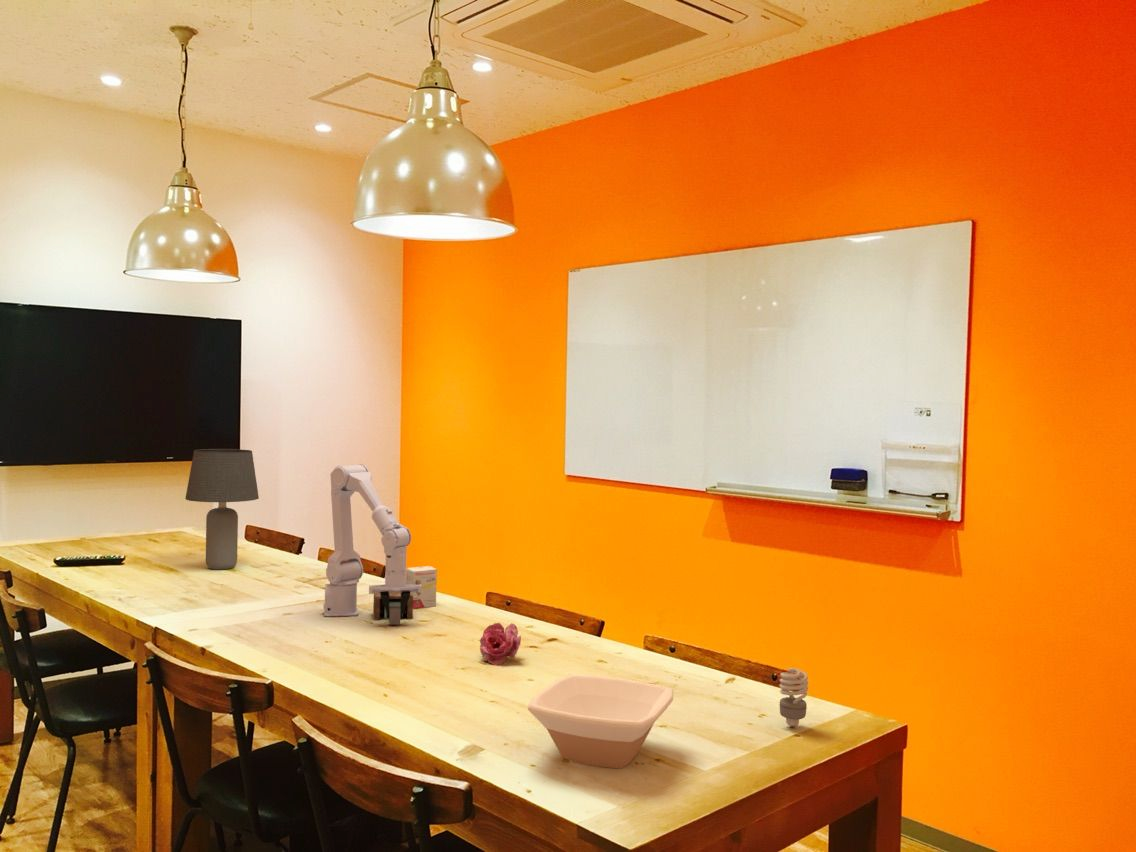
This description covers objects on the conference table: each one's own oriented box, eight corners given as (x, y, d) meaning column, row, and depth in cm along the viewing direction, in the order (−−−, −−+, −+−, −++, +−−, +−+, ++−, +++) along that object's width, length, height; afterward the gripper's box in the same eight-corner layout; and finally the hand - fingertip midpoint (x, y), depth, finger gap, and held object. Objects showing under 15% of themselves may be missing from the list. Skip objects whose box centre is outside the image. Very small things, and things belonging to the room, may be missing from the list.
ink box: (411, 609, 282) (412, 570, 282) (404, 606, 286) (405, 568, 286) (436, 606, 287) (437, 568, 287) (429, 603, 291) (430, 565, 291)
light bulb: (774, 722, 191) (776, 664, 190) (801, 722, 191) (803, 664, 191) (783, 732, 185) (785, 672, 185) (810, 732, 186) (812, 672, 185)
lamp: (243, 575, 327) (245, 453, 326) (172, 573, 327) (174, 451, 326) (267, 562, 352) (269, 449, 351) (201, 560, 352) (203, 447, 351)
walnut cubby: (374, 619, 268) (374, 596, 268) (373, 613, 276) (373, 590, 276) (412, 618, 270) (413, 595, 270) (410, 612, 278) (411, 590, 278)
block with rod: (385, 624, 261) (386, 608, 261) (383, 615, 274) (384, 599, 274) (403, 624, 262) (404, 608, 262) (401, 614, 275) (401, 599, 275)
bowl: (515, 766, 164) (517, 707, 164) (565, 722, 187) (567, 670, 187) (644, 790, 156) (646, 727, 156) (680, 741, 179) (682, 686, 179)
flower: (499, 680, 225) (475, 647, 224) (490, 671, 235) (468, 640, 233) (536, 650, 228) (513, 618, 227) (526, 643, 237) (505, 612, 236)
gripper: (369, 573, 257) (368, 622, 257) (422, 572, 260) (421, 620, 260) (369, 568, 264) (368, 616, 264) (420, 567, 267) (419, 614, 267)
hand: (394, 618), depth 263 cm, fingers closed on block with rod, 3 cm apart
